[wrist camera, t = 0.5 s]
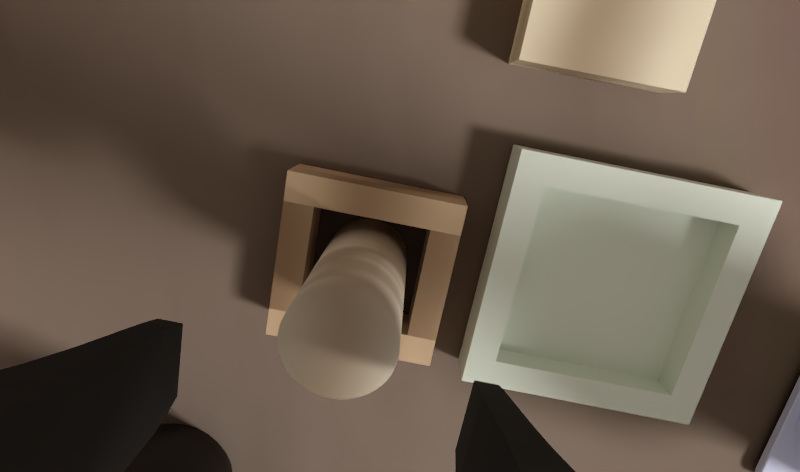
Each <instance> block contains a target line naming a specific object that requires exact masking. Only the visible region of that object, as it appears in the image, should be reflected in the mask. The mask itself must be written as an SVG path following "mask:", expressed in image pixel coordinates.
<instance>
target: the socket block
mask: <svg viewBox="0 0 800 472" xmlns="http://www.w3.org/2000/svg"><path fill="white" fill-rule="evenodd" d="M467 208H468V206H467V203H466V201H465V199H464V197H463V196H459V195H454V194H449V193H444V192H439V191H434V190H429V189H424V188H419V187H414V186H409V185H404V184H399V183H394V182H389V181H384V180H379V179H374V178H369V177H364V176H359V175H354V174H349V173H344V172H339V171H334V170H329V169H324V168H319V167H314V166H309V165H304V164H298V165H296V166H294V167H293V168H291V169H289V170H287V177H286V185H285V192H284V200H283V207H282V215H281V223H280V230H279V238H278V245H277V253H276V261H275V268H274V276H273V283H272V291H271V298H270V306H269V314H268V321H267V329H266V334H268V335H273V336H277V335H278V329H279V326H280V323H281V320H282V318H283V316H284V315H285V313H286V311H287V310H288V308H289V307H290V305H291V303H292V302H293V300H294V299H295V297H296V295H297V294H298V292H299V290H300V289H301V287H302V286H303V284H304V282H305V281H306V279H307V278H308V276H309V274H310V273H311V271H312V269H313V263H314V256H315V250H316V243H317V237H318V230H319V224H320V217H321V211H322V209H327V210H332V211H337V212H342V213H347V214H352V215H357V216H362V217H367V218H372V219H378V220H383V221H388V222H393V223H398V224H403V225H408V226H413V227H418V228H423V229H427V232H426V236H425V241H424V246H423V250H422V255H421V259H420V264H419V269H418V273H417V278H416V282H415V287H414V292H413V296H412V301H411V305H410V310H409V315H407V314H403V318H402V330H401V342H400V353H399V359H398V360H401V361H406V362H411V363H416V364H421V365H427V366H430V363H431V359H432V354H433V350H434V346H435V342H436V338H437V333H438V329H439V325H440V321H441V317H442V312H443V308H444V304H445V300H446V296H447V291H448V287H449V283H450V279H451V275H452V271H453V266H454V262H455V258H456V254H457V250H458V245H459V241H460V237H461V233H462V229H463V224H464V220H465V216H466V212H467Z"/></svg>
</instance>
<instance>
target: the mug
mask: <svg viewBox="0 0 800 472" xmlns="http://www.w3.org/2000/svg"><path fill="white" fill-rule="evenodd" d="M124 472H232V467H231V463H230V461H229V459H228V456H227V454H226V453H225V451H224V450H223V449H222V447H221V446H220V445H219V444H218V443H217V442H216V441H215V440H214V439H212V438H211V437H210V436H208V435H207V434H205V433H203V432H202V431H200V430H197V429H195V428H192V427H189V426H185V425H179V424H163V425H160V426H159V427H158V429H157V430H156V432H155V433H154V435H153V436H152V437H151V438H150V440H149V441H148V442H147V444H146V445H145V446H144V447H143V449H142V450H141V451H140V452H139V454H138V455H137V456H136V457H135V459H134V460H133V461H132V462H131V464H130V465H129V466H128V467H127V469H126V470H125V471H124Z"/></svg>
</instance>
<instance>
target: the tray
mask: <svg viewBox="0 0 800 472" xmlns="http://www.w3.org/2000/svg"><path fill="white" fill-rule="evenodd" d="M782 202H783V201H780V200H776V199H773V198H769V197H766V196H762V195H759V194H755V193H752V192H747V191H742V190H737V189H732V188H727V187H722V186H717V185H712V184H707V183H702V182H697V181H692V180H688V179H683V178H678V177H673V176H668V175H663V174H658V173H653V172H648V171H643V170H638V169H633V168H628V167H623V166H618V165H613V164H608V163H603V162H598V161H593V160H588V159H584V158H579V157H574V156H569V155H564V154H559V153H554V152H549V151H544V150H539V149H534V148H529V147H524V146H519V145H514V144H513V148H512V152H511V155H510V159H509V163H508V167H507V171H506V175H505V179H504V183H503V187H502V191H501V195H500V198H499V202H498V206H497V210H496V214H495V218H494V222H493V226H492V230H491V234H490V238H489V242H488V245H487V249H486V253H485V257H484V261H483V265H482V269H481V273H480V277H479V281H478V285H477V288H476V292H475V296H474V300H473V304H472V308H471V312H470V316H469V320H468V324H467V328H466V332H465V335H464V339H463V343H462V347H461V351H460V355H459V366H460V373H461V380H462V381H466V382H472V383H474V380H476V381H481V382H486V383H491V384H496V385H499V386H500V387H501V388H502V389H507V390H513V391H518V392H523V393H528V394H533V395H538V396H543V397H549V398H554V399H559V400H564V401H569V402H574V403H579V404H584V405H590V406H595V407H600V408H605V409H610V410H615V411H620V412H626V413H631V414H636V415H641V416H646V417H651V418H656V419H661V420H667V421H672V422H677V423H682V424H687V425H689V424H690V421H691V419H692V417H693V414H694V412H695V409H696V407H697V405H698V402H699V400H700V398H701V395H702V393H703V390H704V388H705V386H706V383H707V381H708V378H709V376H710V374H711V371H712V369H713V366H714V364H715V362H716V359H717V357H718V355H719V352H720V350H721V347H722V345H723V343H724V340H725V338H726V335H727V333H728V331H729V328H730V326H731V324H732V321H733V319H734V316H735V314H736V312H737V309H738V307H739V304H740V302H741V300H742V297H743V295H744V292H745V290H746V288H747V285H748V283H749V281H750V278H751V276H752V273H753V271H754V269H755V266H756V264H757V261H758V259H759V257H760V254H761V252H762V249H763V247H764V245H765V242H766V240H767V238H768V235H769V233H770V230H771V228H772V226H773V223H774V221H775V218H776V216H777V214H778V211H779V209H780V207H781V204H782Z"/></svg>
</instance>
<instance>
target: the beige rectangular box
mask: <svg viewBox="0 0 800 472" xmlns="http://www.w3.org/2000/svg"><path fill="white" fill-rule="evenodd" d="M715 3H716V0H523V3H522V7H521V11H520V15H519V20H518V24H517V28H516V33H515V37H514V41H513V45H512V50H511V54H510V58H509V62H508V64H512V65H517V66H522V67H527V68H533V69H538V70H543V71H548V72H553V73H558V74H563V75H568V76H573V77H578V78H584V79H589V80H594V81H599V82H604V83H609V84H614V85H619V86H624V87H630V88H635V89H640V90H645V91H650V92H655V93H682V92H686V90H687V87H688V84H689V81H690V78H691V75H692V72H693V69H694V66H695V63H696V60H697V57H698V54H699V51H700V48H701V45H702V42H703V39H704V36H705V33H706V30H707V27H708V24H709V21H710V18H711V15H712V12H713V9H714V6H715Z"/></svg>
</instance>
